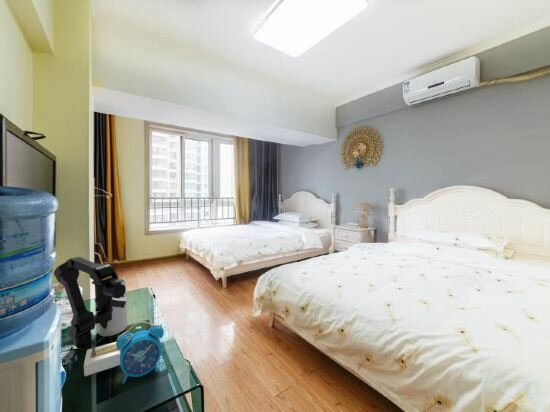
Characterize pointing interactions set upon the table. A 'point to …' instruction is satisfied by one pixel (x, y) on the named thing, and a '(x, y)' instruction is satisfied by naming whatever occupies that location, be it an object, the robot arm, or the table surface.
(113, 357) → the box
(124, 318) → the cylinder vase
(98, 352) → the brass clasp lever
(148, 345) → the alarm clock
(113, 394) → the table surface
